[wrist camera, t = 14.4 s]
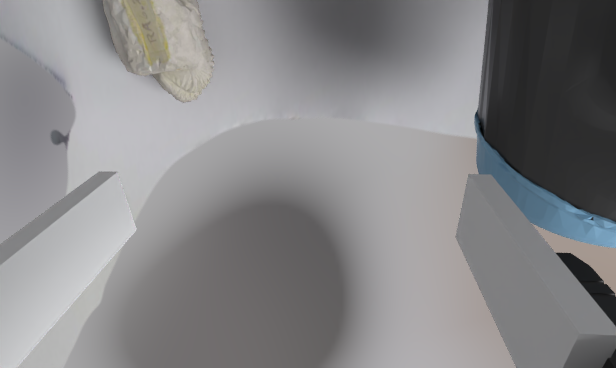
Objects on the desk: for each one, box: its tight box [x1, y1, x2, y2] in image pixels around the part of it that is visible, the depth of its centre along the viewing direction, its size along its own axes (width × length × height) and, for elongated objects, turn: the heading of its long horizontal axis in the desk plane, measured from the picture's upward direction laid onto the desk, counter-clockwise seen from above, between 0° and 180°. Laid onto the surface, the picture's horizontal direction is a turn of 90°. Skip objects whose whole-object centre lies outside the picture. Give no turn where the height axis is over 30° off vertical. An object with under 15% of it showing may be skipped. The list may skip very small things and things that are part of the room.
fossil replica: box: [102, 0, 214, 103], centre depth 33 cm, size 12×8×10 cm
